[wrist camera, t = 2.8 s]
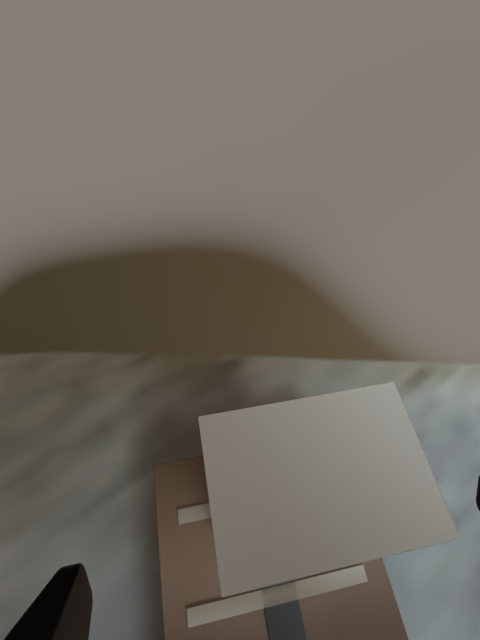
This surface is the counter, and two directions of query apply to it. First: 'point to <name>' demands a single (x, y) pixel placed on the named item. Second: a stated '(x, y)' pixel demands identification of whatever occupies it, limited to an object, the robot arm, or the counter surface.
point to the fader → (317, 486)
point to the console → (263, 603)
